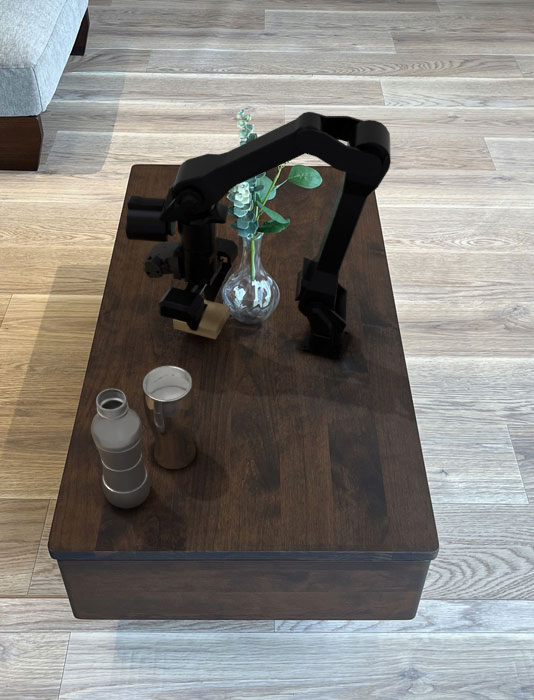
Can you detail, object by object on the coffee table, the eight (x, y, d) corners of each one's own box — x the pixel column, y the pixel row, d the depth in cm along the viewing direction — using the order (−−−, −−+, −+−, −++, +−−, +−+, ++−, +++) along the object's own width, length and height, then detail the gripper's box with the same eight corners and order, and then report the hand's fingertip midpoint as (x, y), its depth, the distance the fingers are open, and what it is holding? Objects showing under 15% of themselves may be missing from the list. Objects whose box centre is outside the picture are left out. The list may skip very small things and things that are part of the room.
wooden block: (189, 304, 136) (188, 295, 134) (230, 314, 134) (230, 305, 132) (173, 328, 131) (172, 319, 130) (215, 339, 129) (215, 330, 128)
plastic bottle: (128, 468, 114) (111, 371, 100) (162, 493, 111) (149, 397, 97) (94, 497, 111) (72, 401, 97) (129, 523, 108) (110, 428, 94)
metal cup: (156, 477, 113) (146, 407, 103) (146, 440, 118) (136, 369, 107) (203, 466, 114) (199, 396, 104) (192, 430, 119) (187, 359, 109)
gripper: (174, 197, 129) (180, 272, 140) (121, 265, 117) (132, 341, 128) (238, 211, 126) (239, 287, 137) (191, 282, 114) (196, 359, 125)
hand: (202, 316), depth 132 cm, fingers closed on wooden block, 6 cm apart
